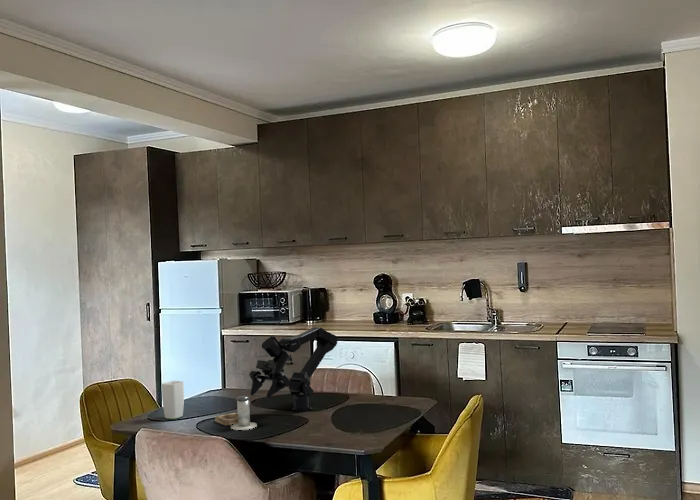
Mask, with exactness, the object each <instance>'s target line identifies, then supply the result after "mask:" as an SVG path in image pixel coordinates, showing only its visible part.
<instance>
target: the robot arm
mask: <svg viewBox="0 0 700 500" xmlns="http://www.w3.org/2000/svg"><path fill="white" fill-rule="evenodd" d="M312 340H315V341H316V348H315V350H314V351H313V352H312V354H311V355H310V357H309V359H308V360H307V362H306V363H305V364H304V366H303V367H302V369H301V370H300V372H296V371H294V373H292V375H291V377H290V378H288V376H286V374H285V373H284V372H285V369H284V368H285V366H286V364H287V363H288V362H293V358H292V355H291V354H289V353H296V352H298V350H299V349H300V348H301V347H302V345H305V344H306V343H309V342H310V341H312ZM337 344H338V338H337V336H336V335H335V334H334V333H331V332H330V331H327V330H325V329H324V328H322V327H319V326H316V327H315V326H314V327H312V328H310V329H308V330H306V331H304V332H302V333H300V334H297V335H295V336H288V337H282V338H281V339H280V340H279V341H278V340H277V337H276V336H274V335H271V336H270V337H269V338H266V339H265V340H264V341H263V342H262V344H261V349H262V350H263V351H264V352H265V353H266V354H267V355H268V357H270V358H272V359H268V360H261V359H258V360H257V362H256V365H255V369H259V370H251V371H250V372H249V374H248V376H249V377H250V379H251V381H252V384H251V390H250V396H254V395H256V393H257V392H258V391H259V390H260V389H261V387H263V386H264V385H263V384H264V383H265V381H268V382H269V381H270V382H271V385H270V387H269V389H268V392H267V394H266V398H267V399H270V397H272V396H274V395H276V393H278V392H279V391H281V390H283V389H285V388H288V389H289V392H290V393H289V394H290V396H293V401H292V402H293V404H292V405H293V407H292V409H291V410H293V411H296V412H300V413H302V412H306V411H310V410H313V407H311V396H313V395H314V389H313V388H312V386H311V378H312V376H313V374H314V373H315V371H316V370H317V368H318V367H319V365H320V363H322V360H323V359H324V357H325V356H326V354H328V353H330V352H331V351H333V350H334V348H336V347H337ZM260 370H261V371H260ZM262 373H263V374H262Z"/></svg>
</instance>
